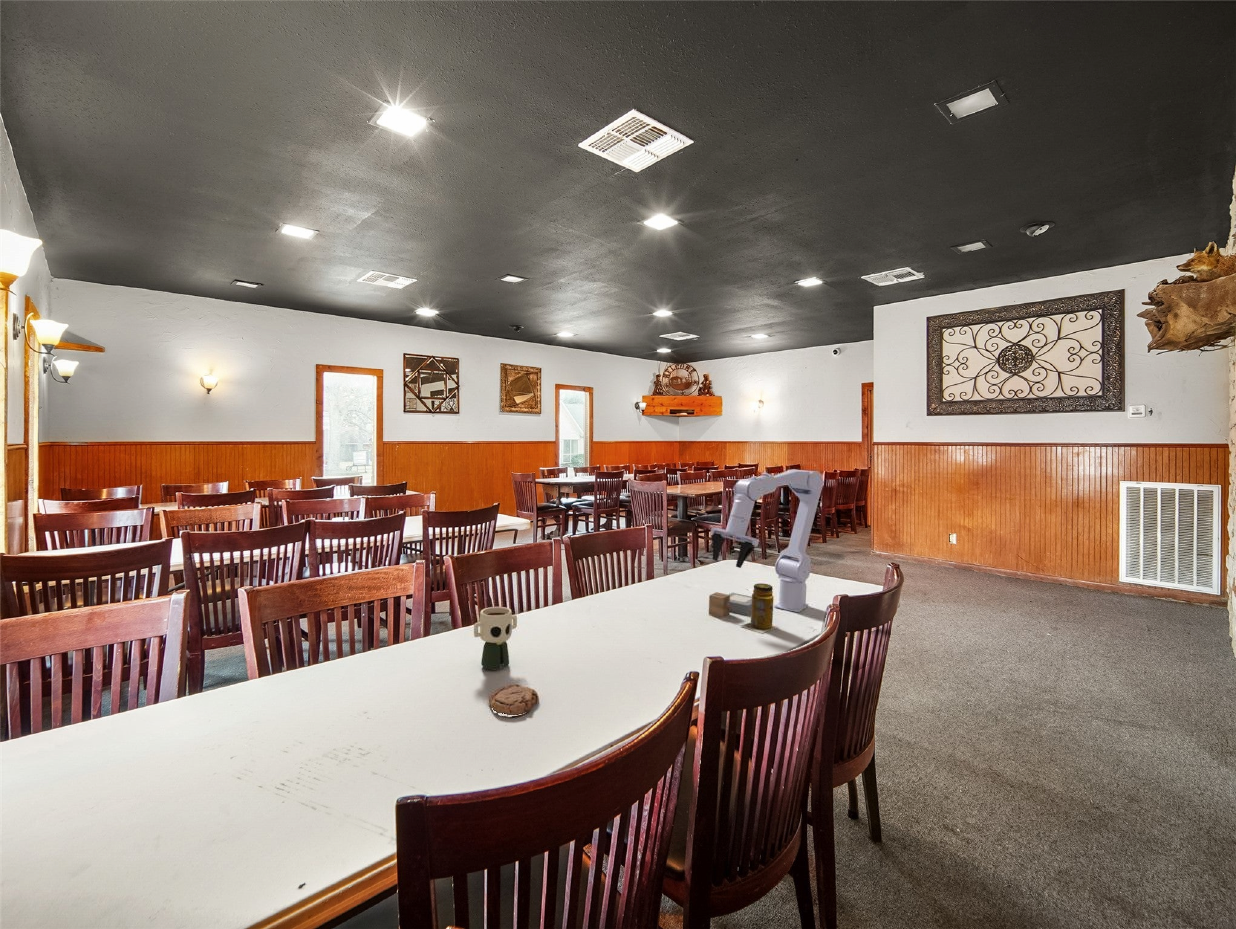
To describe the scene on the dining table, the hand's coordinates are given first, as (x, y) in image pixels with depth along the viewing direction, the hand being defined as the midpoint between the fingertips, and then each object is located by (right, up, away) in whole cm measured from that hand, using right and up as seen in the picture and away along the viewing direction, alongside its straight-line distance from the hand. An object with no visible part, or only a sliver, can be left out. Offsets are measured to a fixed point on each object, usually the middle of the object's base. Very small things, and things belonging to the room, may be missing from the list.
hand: (726, 563), depth 170 cm
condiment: (+9, -18, -2) cm, 20 cm away
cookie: (-52, -19, -53) cm, 77 cm away
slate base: (+7, -16, +15) cm, 23 cm away
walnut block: (-1, -17, +8) cm, 19 cm away
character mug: (-60, -18, -35) cm, 72 cm away
